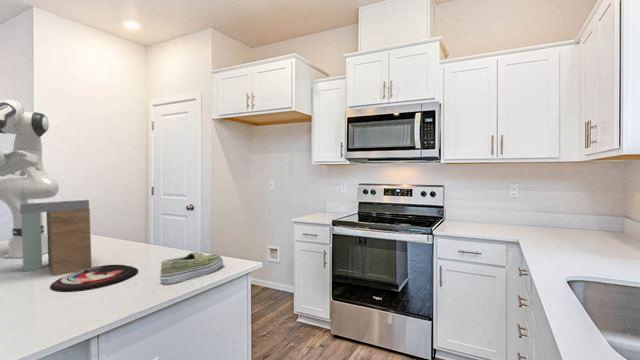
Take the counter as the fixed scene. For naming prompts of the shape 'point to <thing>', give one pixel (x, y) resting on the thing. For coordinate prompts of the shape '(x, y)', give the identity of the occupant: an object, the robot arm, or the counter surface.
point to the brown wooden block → (68, 241)
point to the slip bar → (53, 206)
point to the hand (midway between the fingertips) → (33, 171)
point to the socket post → (31, 241)
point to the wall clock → (94, 278)
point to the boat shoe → (189, 267)
